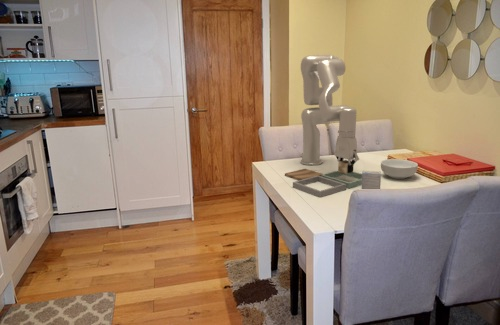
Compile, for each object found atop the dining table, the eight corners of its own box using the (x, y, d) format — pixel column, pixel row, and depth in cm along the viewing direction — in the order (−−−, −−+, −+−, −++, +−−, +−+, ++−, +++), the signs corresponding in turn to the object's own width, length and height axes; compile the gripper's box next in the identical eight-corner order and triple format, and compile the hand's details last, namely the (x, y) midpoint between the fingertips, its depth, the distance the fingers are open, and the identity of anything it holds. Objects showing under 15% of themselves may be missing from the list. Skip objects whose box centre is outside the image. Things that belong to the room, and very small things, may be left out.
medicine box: (380, 189, 166) (381, 171, 163) (380, 193, 162) (381, 173, 159) (361, 188, 168) (362, 170, 166) (361, 191, 164) (361, 172, 162)
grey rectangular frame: (292, 187, 174) (292, 182, 173) (317, 180, 182) (317, 175, 181) (320, 197, 159) (320, 191, 158) (346, 189, 168) (346, 184, 167)
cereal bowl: (399, 184, 172) (400, 169, 171) (372, 175, 187) (373, 161, 185) (424, 177, 180) (425, 163, 178) (396, 170, 194) (397, 157, 192)
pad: (284, 175, 192) (284, 173, 192) (305, 170, 200) (305, 168, 199) (303, 181, 181) (303, 179, 180) (323, 176, 188) (323, 174, 188)
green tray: (320, 179, 183) (320, 174, 183) (343, 173, 192) (343, 168, 191) (349, 188, 169) (349, 183, 168) (372, 181, 177) (372, 176, 177)
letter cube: (338, 171, 180) (338, 161, 179) (345, 169, 183) (345, 159, 182) (346, 174, 176) (346, 163, 175) (353, 172, 179) (353, 161, 178)
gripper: (328, 132, 179) (327, 168, 184) (356, 138, 166) (354, 176, 171) (339, 130, 183) (337, 165, 188) (367, 135, 170) (365, 173, 175)
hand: (345, 170), depth 179 cm, fingers closed on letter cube, 5 cm apart
